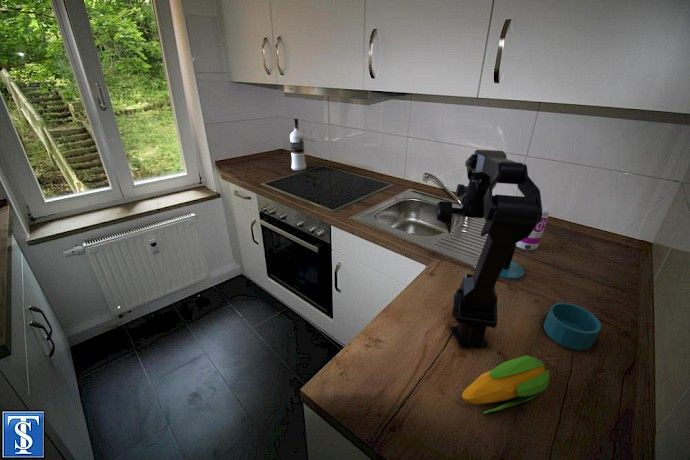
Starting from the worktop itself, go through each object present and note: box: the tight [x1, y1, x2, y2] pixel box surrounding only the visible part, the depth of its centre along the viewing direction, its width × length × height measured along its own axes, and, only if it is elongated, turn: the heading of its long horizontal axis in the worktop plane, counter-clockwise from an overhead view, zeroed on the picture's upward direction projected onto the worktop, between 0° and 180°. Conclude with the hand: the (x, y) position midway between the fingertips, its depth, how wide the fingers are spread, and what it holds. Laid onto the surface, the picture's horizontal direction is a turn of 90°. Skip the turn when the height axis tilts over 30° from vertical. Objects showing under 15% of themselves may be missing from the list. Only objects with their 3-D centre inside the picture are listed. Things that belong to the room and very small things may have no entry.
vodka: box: [289, 118, 307, 172], centre depth 190 cm, size 9×9×30 cm
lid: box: [499, 243, 525, 280], centre depth 99 cm, size 11×11×10 cm
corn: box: [461, 354, 550, 415], centre depth 61 cm, size 7×8×20 cm
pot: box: [543, 302, 602, 351], centre depth 76 cm, size 10×10×5 cm
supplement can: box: [516, 205, 550, 251], centre depth 111 cm, size 8×8×15 cm
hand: (465, 233), depth 94 cm, fingers open, 9 cm apart
